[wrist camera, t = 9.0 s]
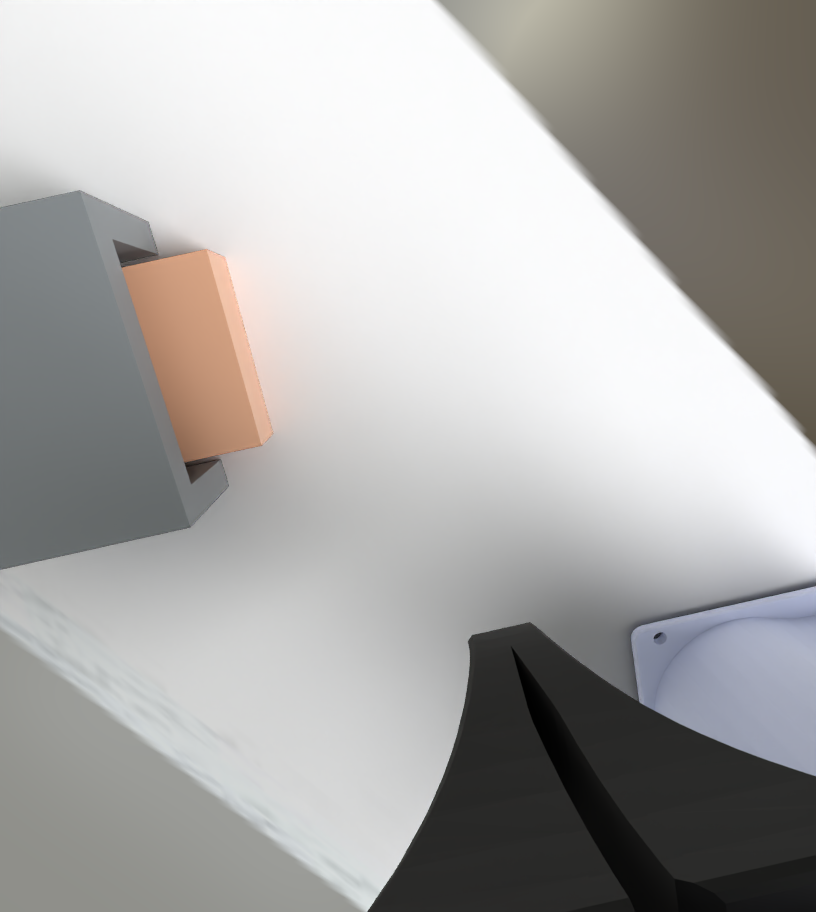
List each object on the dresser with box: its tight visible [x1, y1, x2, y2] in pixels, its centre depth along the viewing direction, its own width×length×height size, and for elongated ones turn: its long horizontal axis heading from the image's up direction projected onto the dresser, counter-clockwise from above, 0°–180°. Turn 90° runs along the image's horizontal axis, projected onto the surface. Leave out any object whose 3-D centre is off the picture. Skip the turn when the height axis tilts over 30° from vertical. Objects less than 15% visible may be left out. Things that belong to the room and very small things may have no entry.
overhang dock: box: [0, 190, 229, 570], centre depth 17 cm, size 7×9×4 cm
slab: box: [122, 249, 273, 462], centre depth 18 cm, size 8×6×2 cm
